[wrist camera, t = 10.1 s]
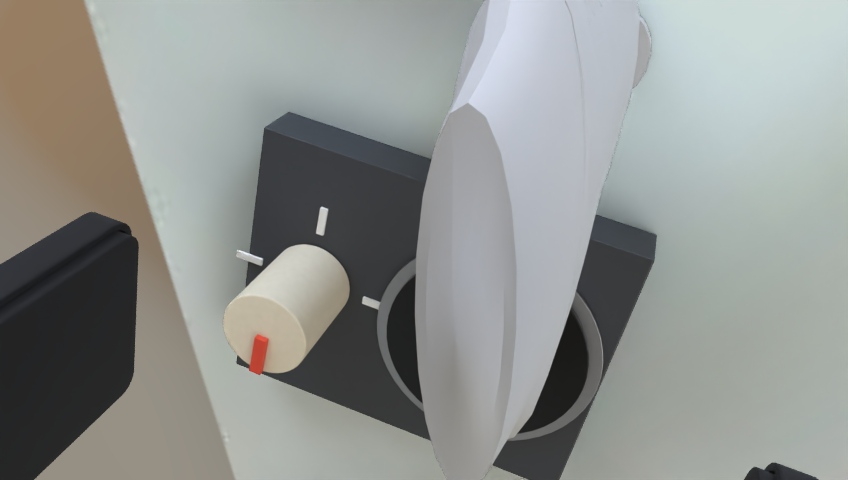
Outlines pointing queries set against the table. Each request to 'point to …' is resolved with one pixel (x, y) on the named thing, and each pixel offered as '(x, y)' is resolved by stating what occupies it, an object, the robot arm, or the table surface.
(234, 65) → the table surface
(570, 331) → the burner
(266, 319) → the knob
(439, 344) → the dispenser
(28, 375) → the robot arm
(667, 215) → the table surface
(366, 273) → the hob
